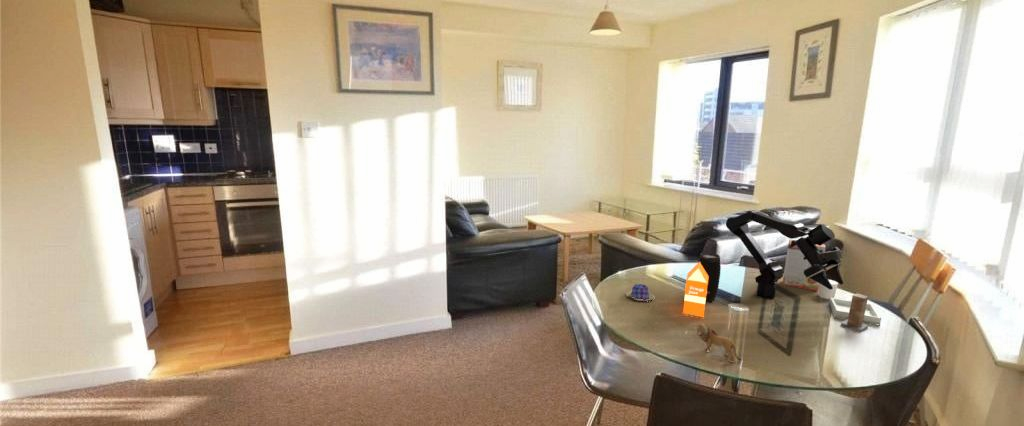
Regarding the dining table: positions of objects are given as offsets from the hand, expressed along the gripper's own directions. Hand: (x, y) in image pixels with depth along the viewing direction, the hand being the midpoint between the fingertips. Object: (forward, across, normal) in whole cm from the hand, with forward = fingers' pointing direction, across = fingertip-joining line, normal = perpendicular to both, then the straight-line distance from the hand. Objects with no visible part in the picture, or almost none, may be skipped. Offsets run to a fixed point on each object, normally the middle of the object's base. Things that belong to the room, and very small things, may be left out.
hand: (837, 286), depth 174 cm
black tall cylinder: (-17, -25, +36) cm, 47 cm away
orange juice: (-13, -40, +32) cm, 54 cm away
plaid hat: (-28, -47, +48) cm, 73 cm away
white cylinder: (+2, +23, +18) cm, 29 cm away
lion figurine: (+3, -62, +16) cm, 64 cm away
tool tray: (+12, +12, +7) cm, 18 cm away
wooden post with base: (+15, 0, +4) cm, 16 cm away
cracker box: (-7, +25, +26) cm, 37 cm away
